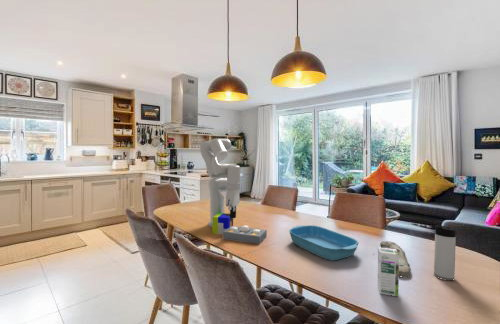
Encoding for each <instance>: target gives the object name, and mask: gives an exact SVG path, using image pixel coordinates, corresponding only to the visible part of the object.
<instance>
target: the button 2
mask: <svg viewBox="0 0 500 324" xmlns="http://www.w3.org/2000/svg"><path fill="white" fill-rule="evenodd" d="M259 229H260V228H254V230H253V233H254V234H260V230H259Z"/></svg>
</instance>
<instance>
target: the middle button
mask: <svg viewBox="0 0 500 324" xmlns="http://www.w3.org/2000/svg"><path fill="white" fill-rule="evenodd" d="M240 227H241V232H246V233H248V232H249V228H250V227H249V225H241V226H240Z"/></svg>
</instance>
